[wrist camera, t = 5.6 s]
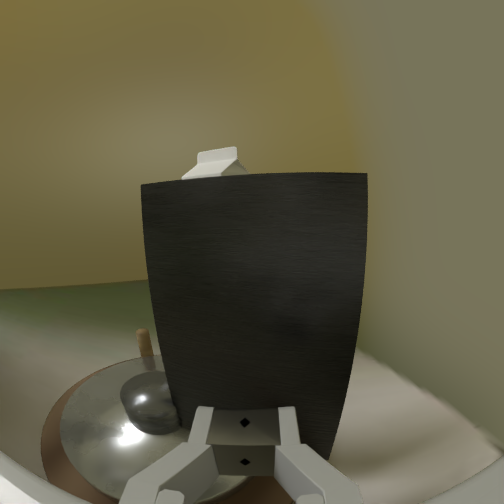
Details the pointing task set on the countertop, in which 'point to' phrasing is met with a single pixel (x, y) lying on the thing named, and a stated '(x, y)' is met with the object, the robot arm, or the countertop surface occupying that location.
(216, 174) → the milk
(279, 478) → the robot arm
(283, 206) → the grey finned round piece
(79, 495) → the post base
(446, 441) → the countertop surface
